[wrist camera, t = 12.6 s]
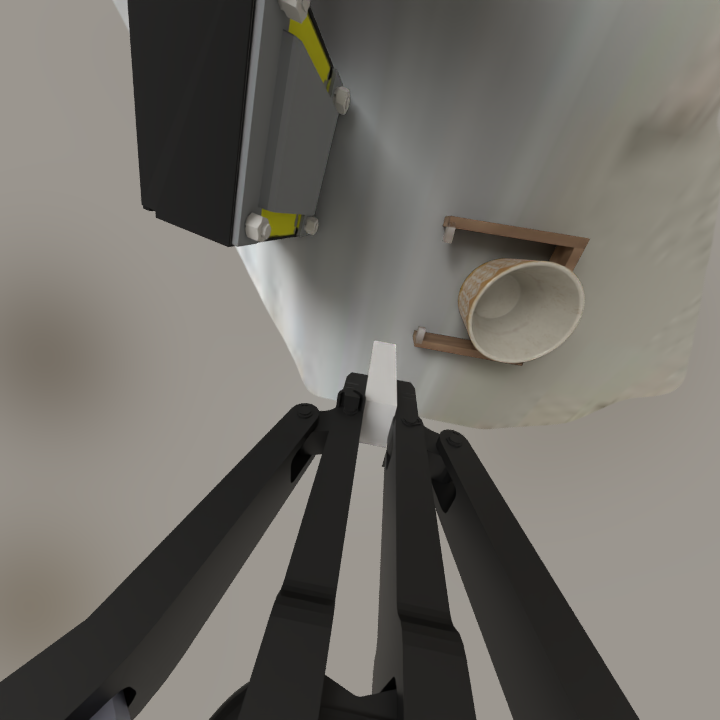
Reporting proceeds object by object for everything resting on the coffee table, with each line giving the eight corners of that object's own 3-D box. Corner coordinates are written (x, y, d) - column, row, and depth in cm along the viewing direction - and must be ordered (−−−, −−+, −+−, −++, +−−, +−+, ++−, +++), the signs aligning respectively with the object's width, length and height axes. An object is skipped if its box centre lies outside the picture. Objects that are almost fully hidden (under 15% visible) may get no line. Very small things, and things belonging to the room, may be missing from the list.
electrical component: (316, 241, 39) (253, 257, 21) (252, 214, 38) (132, 208, 20) (356, 88, 30) (304, -94, 13) (274, 50, 29) (99, -200, 12)
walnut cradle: (445, 216, 35) (450, 216, 32) (570, 237, 35) (590, 238, 31) (412, 336, 44) (414, 346, 41) (511, 354, 44) (521, 365, 40)
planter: (463, 247, 37) (486, 256, 28) (553, 255, 36) (608, 266, 27) (443, 328, 43) (456, 357, 34) (520, 336, 42) (555, 368, 33)
